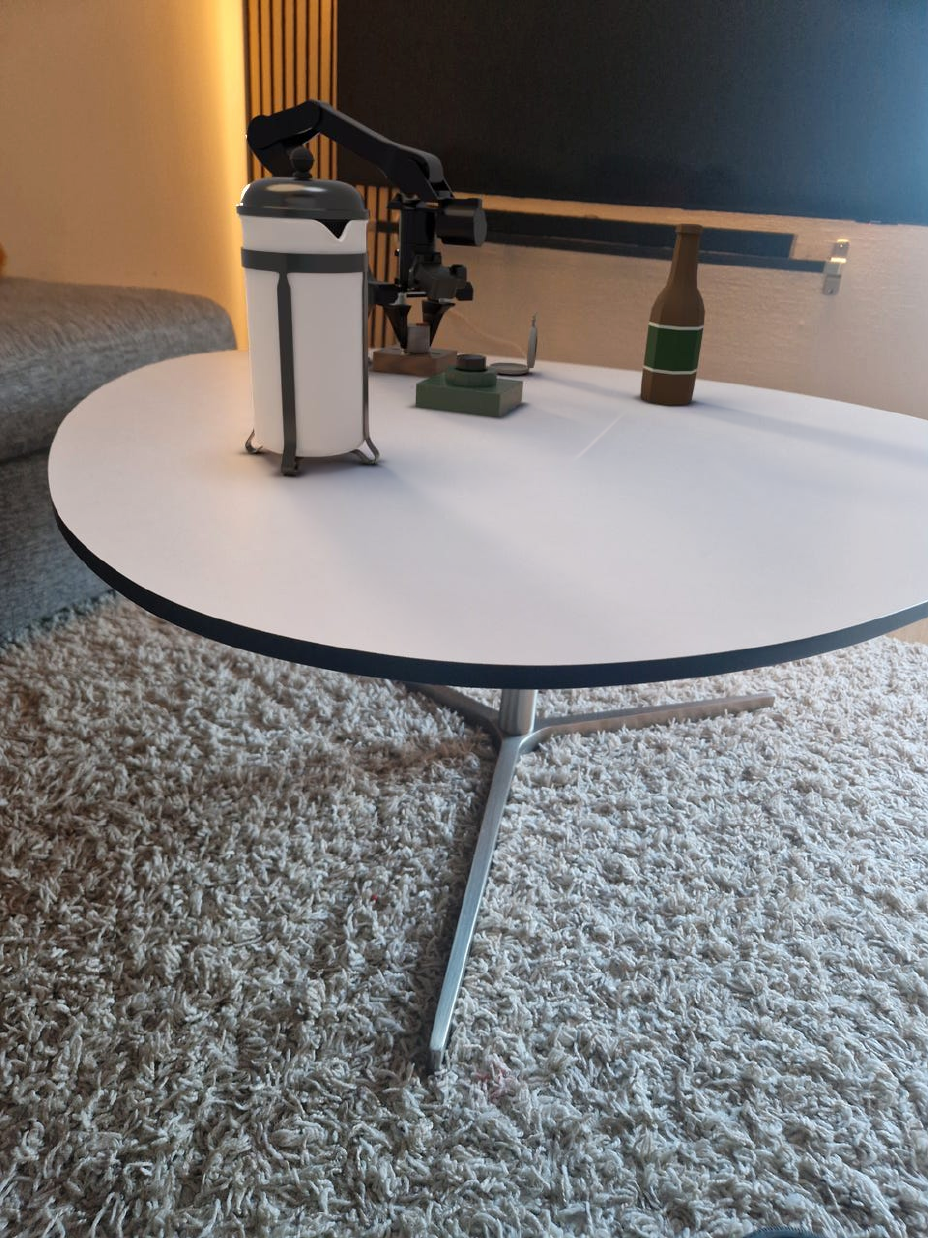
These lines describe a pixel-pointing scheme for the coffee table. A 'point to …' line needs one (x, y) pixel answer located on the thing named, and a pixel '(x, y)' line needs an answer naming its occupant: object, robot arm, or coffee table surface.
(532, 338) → the pocket watch
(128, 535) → the coffee table surface
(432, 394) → the button base
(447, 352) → the dial panel
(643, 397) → the beer bottle
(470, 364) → the push button
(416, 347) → the dial
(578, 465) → the coffee table surface
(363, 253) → the coffee press
